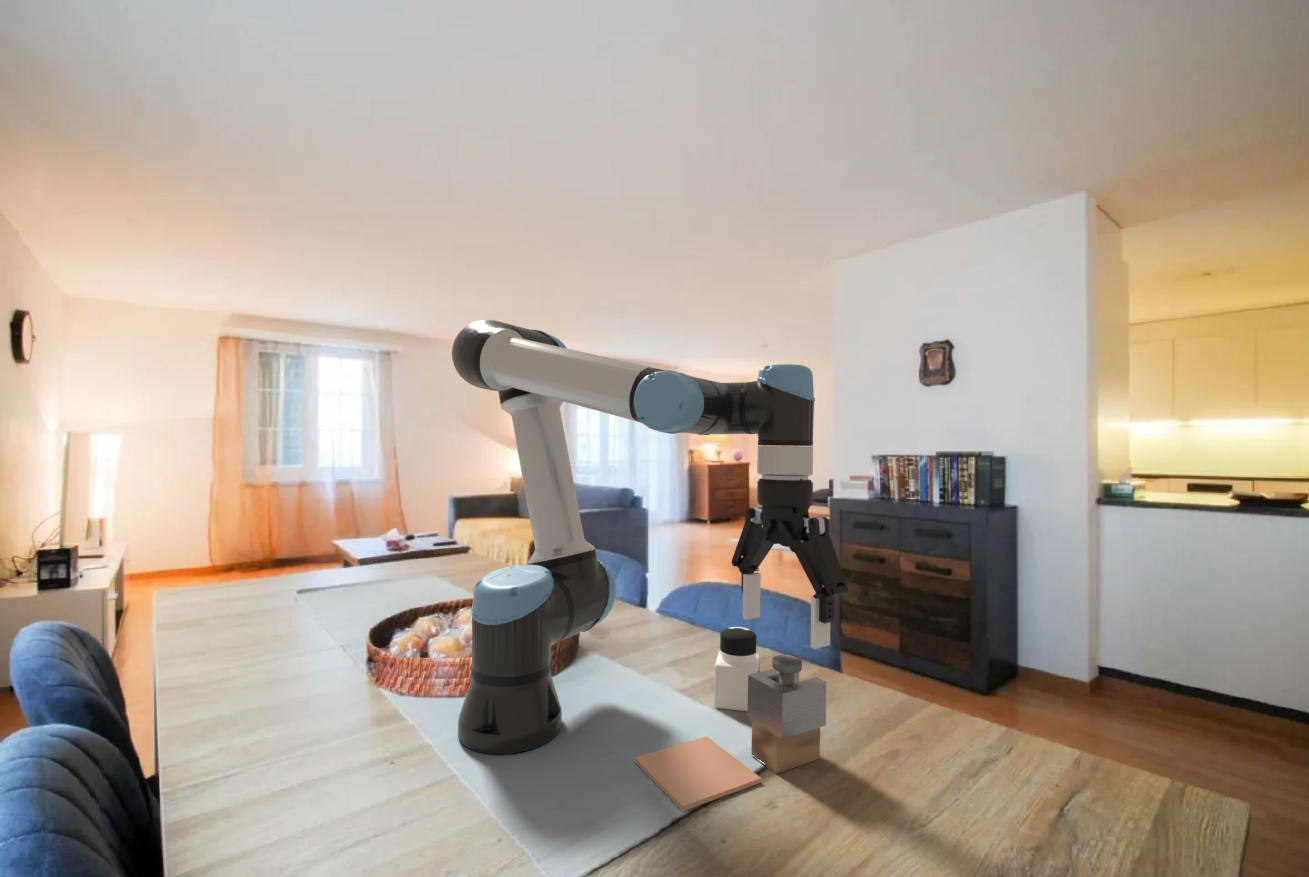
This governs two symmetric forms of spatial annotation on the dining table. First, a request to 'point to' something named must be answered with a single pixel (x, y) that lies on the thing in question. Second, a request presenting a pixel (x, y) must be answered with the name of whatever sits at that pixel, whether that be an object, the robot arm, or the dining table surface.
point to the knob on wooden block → (791, 749)
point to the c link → (786, 703)
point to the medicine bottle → (735, 668)
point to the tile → (696, 772)
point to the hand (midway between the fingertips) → (783, 631)
